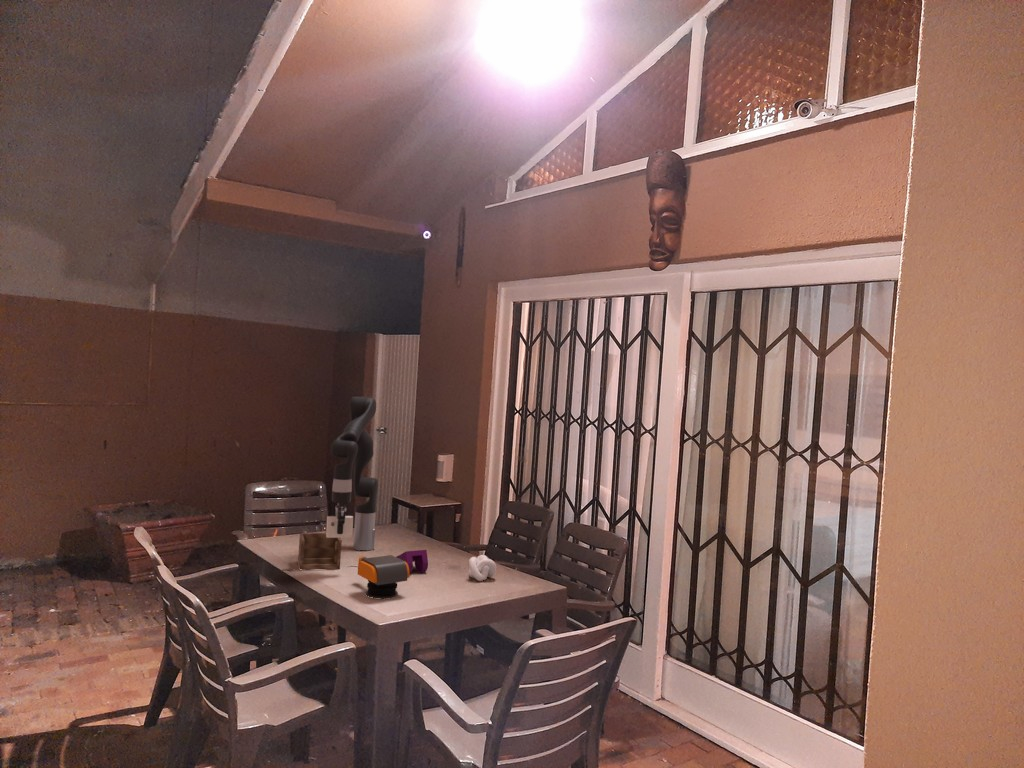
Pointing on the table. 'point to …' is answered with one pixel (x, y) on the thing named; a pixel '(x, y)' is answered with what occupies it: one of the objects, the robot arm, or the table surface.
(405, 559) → the mounting bracket
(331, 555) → the cabinet
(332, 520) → the door
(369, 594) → the sander
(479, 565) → the white knot
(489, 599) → the table surface
